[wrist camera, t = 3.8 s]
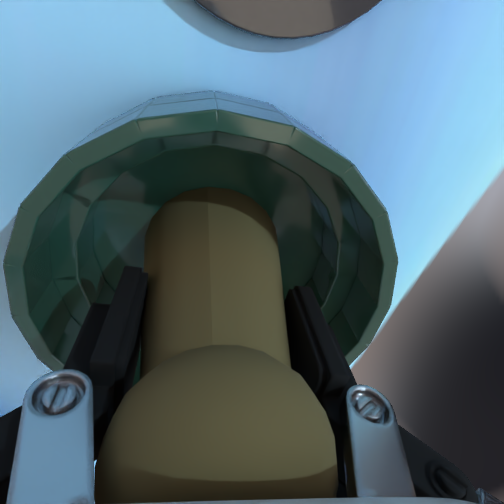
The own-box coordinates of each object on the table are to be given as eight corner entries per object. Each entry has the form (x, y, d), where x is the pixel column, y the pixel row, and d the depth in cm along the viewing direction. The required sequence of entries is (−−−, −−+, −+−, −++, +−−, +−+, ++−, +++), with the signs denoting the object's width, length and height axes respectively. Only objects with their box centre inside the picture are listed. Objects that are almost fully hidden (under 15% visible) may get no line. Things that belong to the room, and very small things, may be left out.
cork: (255, 309, 18) (312, 606, 8) (135, 290, 16) (40, 625, 7) (297, 205, 15) (450, 477, 6) (155, 170, 13) (41, 462, 4)
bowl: (66, 337, 18) (27, 418, 14) (47, 50, 11) (-34, 53, 7) (303, 354, 20) (326, 426, 17) (396, 131, 14) (468, 164, 10)
